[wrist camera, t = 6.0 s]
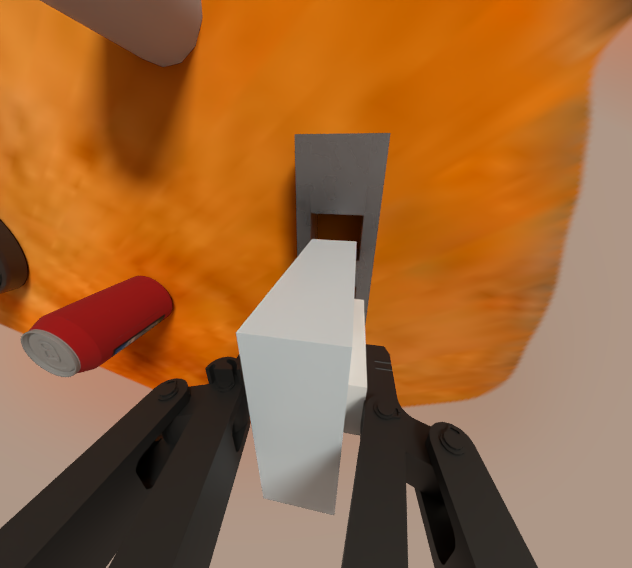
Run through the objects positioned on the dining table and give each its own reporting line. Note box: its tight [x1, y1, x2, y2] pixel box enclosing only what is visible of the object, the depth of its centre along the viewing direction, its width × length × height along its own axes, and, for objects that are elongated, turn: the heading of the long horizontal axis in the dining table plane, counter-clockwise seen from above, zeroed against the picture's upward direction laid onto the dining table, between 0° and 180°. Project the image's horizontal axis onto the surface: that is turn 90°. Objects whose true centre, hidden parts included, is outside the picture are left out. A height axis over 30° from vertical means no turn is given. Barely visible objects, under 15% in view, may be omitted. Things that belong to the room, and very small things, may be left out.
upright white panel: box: [236, 239, 357, 515], centre depth 12 cm, size 9×3×10 cm, turn 179°
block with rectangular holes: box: [295, 133, 390, 323], centre depth 23 cm, size 7×22×4 cm, turn 179°
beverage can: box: [21, 276, 172, 377], centre depth 26 cm, size 7×7×12 cm
